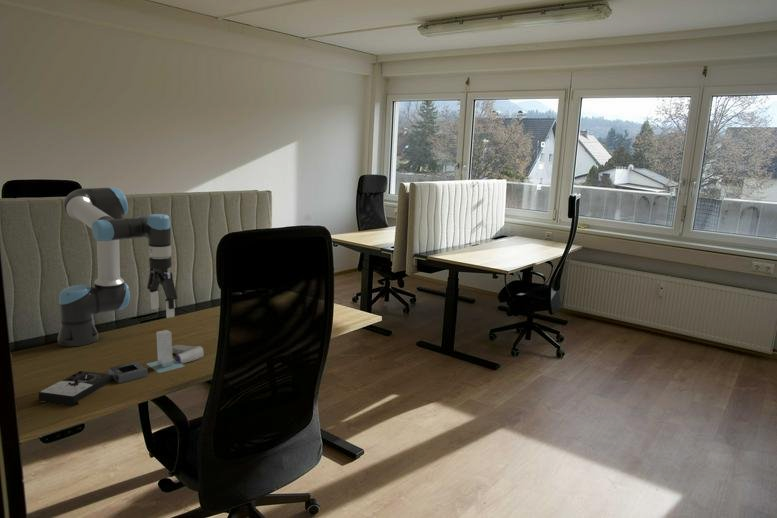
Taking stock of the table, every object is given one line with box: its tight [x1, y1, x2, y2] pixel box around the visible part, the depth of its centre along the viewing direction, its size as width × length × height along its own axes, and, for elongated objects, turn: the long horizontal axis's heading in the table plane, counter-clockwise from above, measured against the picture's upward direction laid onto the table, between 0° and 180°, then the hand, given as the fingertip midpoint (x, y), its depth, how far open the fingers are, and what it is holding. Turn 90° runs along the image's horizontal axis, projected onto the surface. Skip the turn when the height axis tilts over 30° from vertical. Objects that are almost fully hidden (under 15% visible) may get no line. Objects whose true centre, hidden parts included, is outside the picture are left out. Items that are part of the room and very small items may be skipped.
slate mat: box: [146, 358, 186, 374], centre depth 213 cm, size 12×10×1 cm
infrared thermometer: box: [172, 344, 205, 364], centre depth 223 cm, size 5×12×15 cm
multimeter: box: [38, 370, 114, 407], centre depth 190 cm, size 13×19×5 cm
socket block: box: [108, 361, 149, 384], centre depth 202 cm, size 10×10×4 cm
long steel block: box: [155, 329, 174, 368], centre depth 211 cm, size 4×4×13 cm
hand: (162, 312), depth 209 cm, fingers open, 13 cm apart
